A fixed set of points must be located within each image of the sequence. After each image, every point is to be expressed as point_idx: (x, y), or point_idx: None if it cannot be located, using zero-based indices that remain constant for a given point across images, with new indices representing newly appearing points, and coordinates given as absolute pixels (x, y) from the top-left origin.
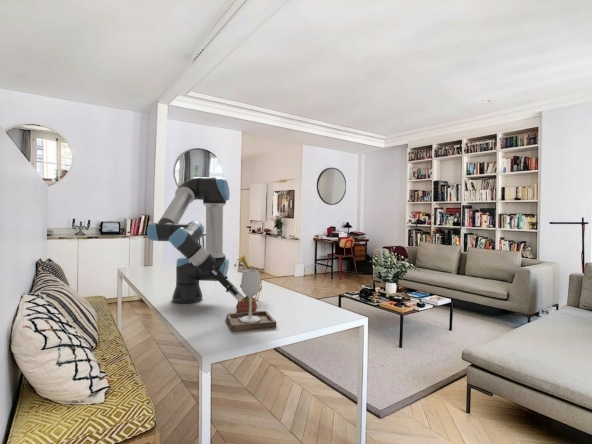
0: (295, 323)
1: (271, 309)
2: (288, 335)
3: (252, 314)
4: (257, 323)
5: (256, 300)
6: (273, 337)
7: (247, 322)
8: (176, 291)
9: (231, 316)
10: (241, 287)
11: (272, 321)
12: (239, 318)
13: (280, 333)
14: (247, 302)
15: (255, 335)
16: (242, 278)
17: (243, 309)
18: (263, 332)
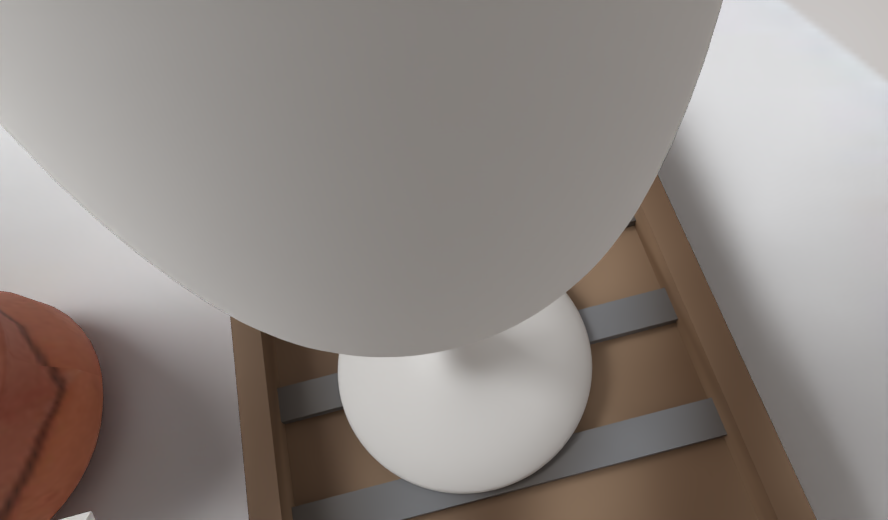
0: None
1: (23, 172)
2: (797, 29)
3: (270, 340)
4: (693, 256)
5: None
6: (879, 136)
7: (589, 384)
8: None
9: None
10: (442, 342)
11: None
12: (399, 503)
13: (757, 85)
14: (6, 388)
15: (864, 295)
16: (505, 100)
17: (72, 464)
18: (756, 223)
